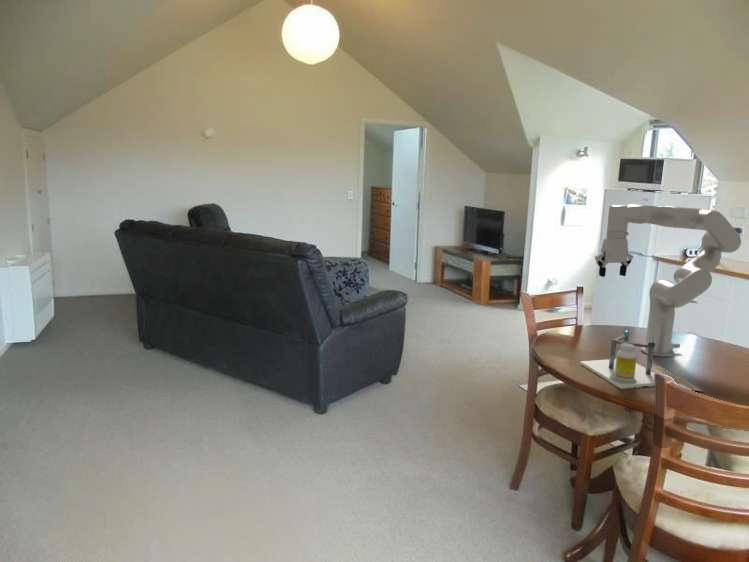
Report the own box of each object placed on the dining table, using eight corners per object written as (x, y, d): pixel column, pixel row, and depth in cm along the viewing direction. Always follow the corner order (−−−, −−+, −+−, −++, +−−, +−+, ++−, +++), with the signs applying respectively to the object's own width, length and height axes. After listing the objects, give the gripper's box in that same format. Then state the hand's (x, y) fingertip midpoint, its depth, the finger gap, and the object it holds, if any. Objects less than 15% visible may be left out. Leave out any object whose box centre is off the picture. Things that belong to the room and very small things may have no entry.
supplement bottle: (636, 382, 189) (640, 348, 186) (616, 381, 190) (620, 347, 188) (631, 375, 195) (634, 342, 193) (612, 374, 197) (615, 341, 194)
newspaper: (703, 394, 185) (704, 390, 184) (684, 395, 184) (685, 390, 184) (662, 370, 208) (662, 365, 207) (645, 370, 207) (645, 366, 207)
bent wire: (624, 360, 213) (627, 329, 210) (653, 374, 197) (657, 342, 195) (597, 361, 210) (600, 331, 208) (624, 377, 195) (628, 344, 192)
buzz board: (625, 360, 215) (626, 357, 215) (671, 384, 191) (672, 380, 191) (580, 364, 211) (580, 360, 211) (620, 388, 187) (621, 384, 187)
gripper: (628, 234, 222) (624, 273, 225) (592, 234, 218) (588, 274, 222) (641, 236, 215) (636, 277, 218) (603, 236, 211) (599, 278, 215)
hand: (612, 275), depth 220 cm, fingers open, 9 cm apart
